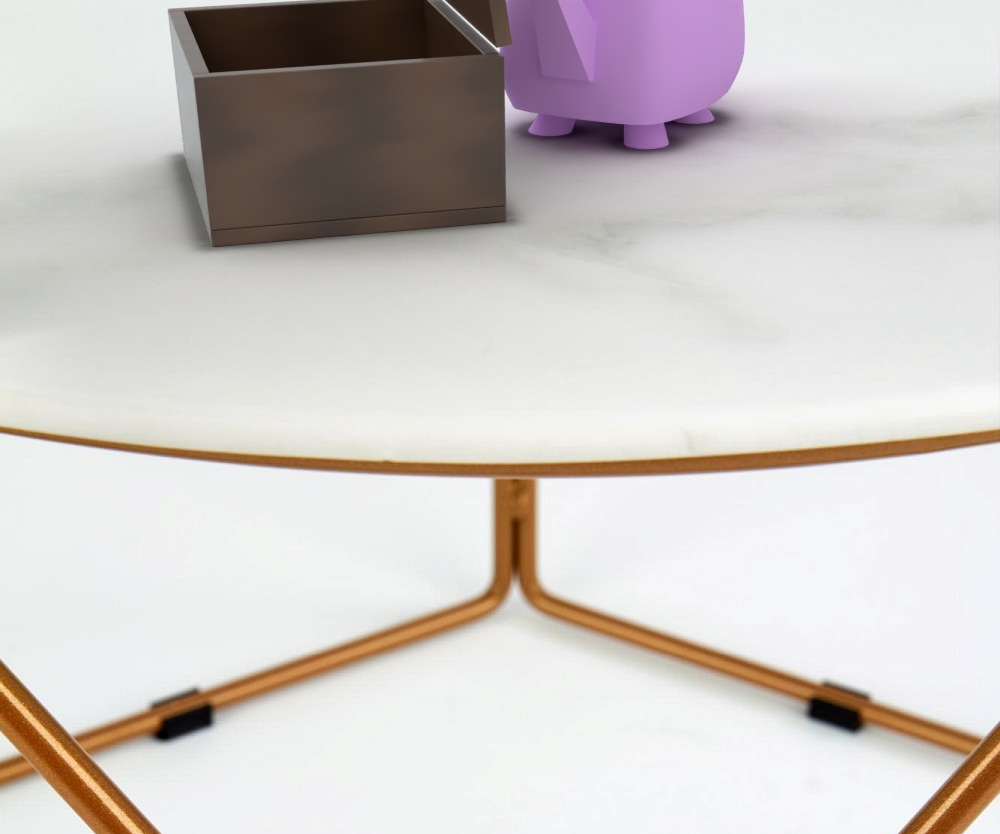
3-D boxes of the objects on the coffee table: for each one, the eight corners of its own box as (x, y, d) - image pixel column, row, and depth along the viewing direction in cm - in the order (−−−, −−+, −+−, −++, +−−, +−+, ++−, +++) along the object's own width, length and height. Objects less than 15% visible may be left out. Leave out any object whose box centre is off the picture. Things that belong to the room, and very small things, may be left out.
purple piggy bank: (603, 78, 110) (607, -143, 103) (784, 99, 105) (802, -133, 98) (439, 153, 96) (430, -98, 89) (639, 182, 91) (647, -83, 83)
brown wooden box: (211, 247, 83) (193, 77, 78) (184, 157, 96) (167, 8, 92) (506, 222, 85) (504, 56, 81) (439, 138, 99) (434, -8, 94)
